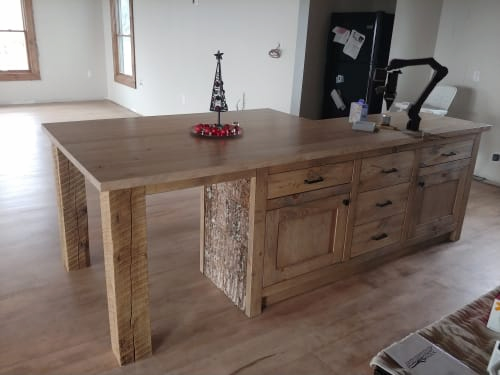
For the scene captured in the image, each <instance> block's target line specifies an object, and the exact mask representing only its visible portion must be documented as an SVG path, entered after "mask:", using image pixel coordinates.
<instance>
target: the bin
mask: <svg viewBox="0 0 500 375" xmlns="http://www.w3.org/2000/svg"><path fill="white" fill-rule="evenodd" d="M376 125H377V122H371V121H366V122H364V121H355V122H352V128H351V129H352V132H354V131H356V132H359V133H363V132H367V133H368V134H371V133H374V131H375V129H376Z"/></svg>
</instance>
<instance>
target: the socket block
mask: <svg viewBox="0 0 500 375" xmlns="http://www.w3.org/2000/svg"><path fill="white" fill-rule="evenodd" d="M395 128H396V124H391V123H390V127H387V126H382V122H381V123H380V122H378V123H377V122H376V124H375V129H380V130H381V129H382V130H390V131H394V130H395Z"/></svg>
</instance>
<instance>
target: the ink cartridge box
mask: <svg viewBox="0 0 500 375" xmlns="http://www.w3.org/2000/svg"><path fill="white" fill-rule="evenodd" d="M368 110H369V104H367V103H365V100H364V99H362V98H360V99H359V100H358V102H355V101H353V102H351V104H350V111H349V118H348V123H352V124H353V123H354V122H355V121H364V122H367V118H368V112H369V111H368Z"/></svg>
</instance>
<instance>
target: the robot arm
mask: <svg viewBox="0 0 500 375" xmlns="http://www.w3.org/2000/svg"><path fill="white" fill-rule="evenodd" d="M428 65H429V67H430V68H431V69H432V70H433V73H432V75H431V78H430V80H429V82H428V83H427V84H426V85H425V87H424V88H423V89H422V92H421V93H420V94H419V95H418V97H417V98H416V100H415V101H414V102H410V103H409V104H408V106H407V107H405V108H406V110H405V115H406V116H407V117H408V121H407V122H406V127H405V129H406V130H407V131H412V132H419V131H420V126H421V124H420V123H421V121H422V117H421V115H419V114H420V112H421V110H422V106H423V104H424V103H425V101H427V99H428V98H429V97H430V95H431V94H432V92H433V91H434V90H435V88H436V87H437V85H438V84H439V83H440V82H441V81H442V80H444V78H445V77H446V76H447V75H448V74H449V68H448V67H447V66H445V65H442V64H441V63H439V62H438V61H437V60H436V59H435V58H434V57H432V56H429V57H421V58H420V57H419V58H408V59H407V58H405V59H404V58H394V57H393V58H391V59H390V60H389V62H388V64H387V66H386V67H385V68H378V67H376V68H375V69H374V74H373V79H372V80H373V81H375V82H384V81H385V80H386V83H385V85H384V86H383V85H382V86H381V85H379V86H377V87H376V88H374V89H375V92H376V95H379V94H381V93H384V94H382V95H383V97H382V98H383V99H382V100H384V101H385V106H386V107H385V108H386V109H385V110H386V112H389V111H390V109H391V107H392V106H393V103H395V102H394V101H395V99H396V98H397V96H398V95H397V94H398V91H397V89H398V81H399V75H403V71H402V70H401V69H403V68H406V67H417V66H428Z"/></svg>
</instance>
